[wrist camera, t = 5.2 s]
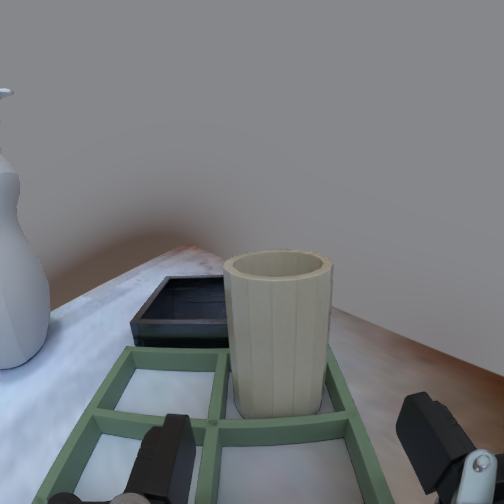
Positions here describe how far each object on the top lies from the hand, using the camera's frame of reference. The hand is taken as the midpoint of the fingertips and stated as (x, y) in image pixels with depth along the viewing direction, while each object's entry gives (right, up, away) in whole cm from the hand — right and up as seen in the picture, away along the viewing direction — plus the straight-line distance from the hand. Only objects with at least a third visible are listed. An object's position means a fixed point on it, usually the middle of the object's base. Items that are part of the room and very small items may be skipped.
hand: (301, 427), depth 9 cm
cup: (0, -5, +12) cm, 13 cm away
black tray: (-6, -2, +24) cm, 25 cm away
